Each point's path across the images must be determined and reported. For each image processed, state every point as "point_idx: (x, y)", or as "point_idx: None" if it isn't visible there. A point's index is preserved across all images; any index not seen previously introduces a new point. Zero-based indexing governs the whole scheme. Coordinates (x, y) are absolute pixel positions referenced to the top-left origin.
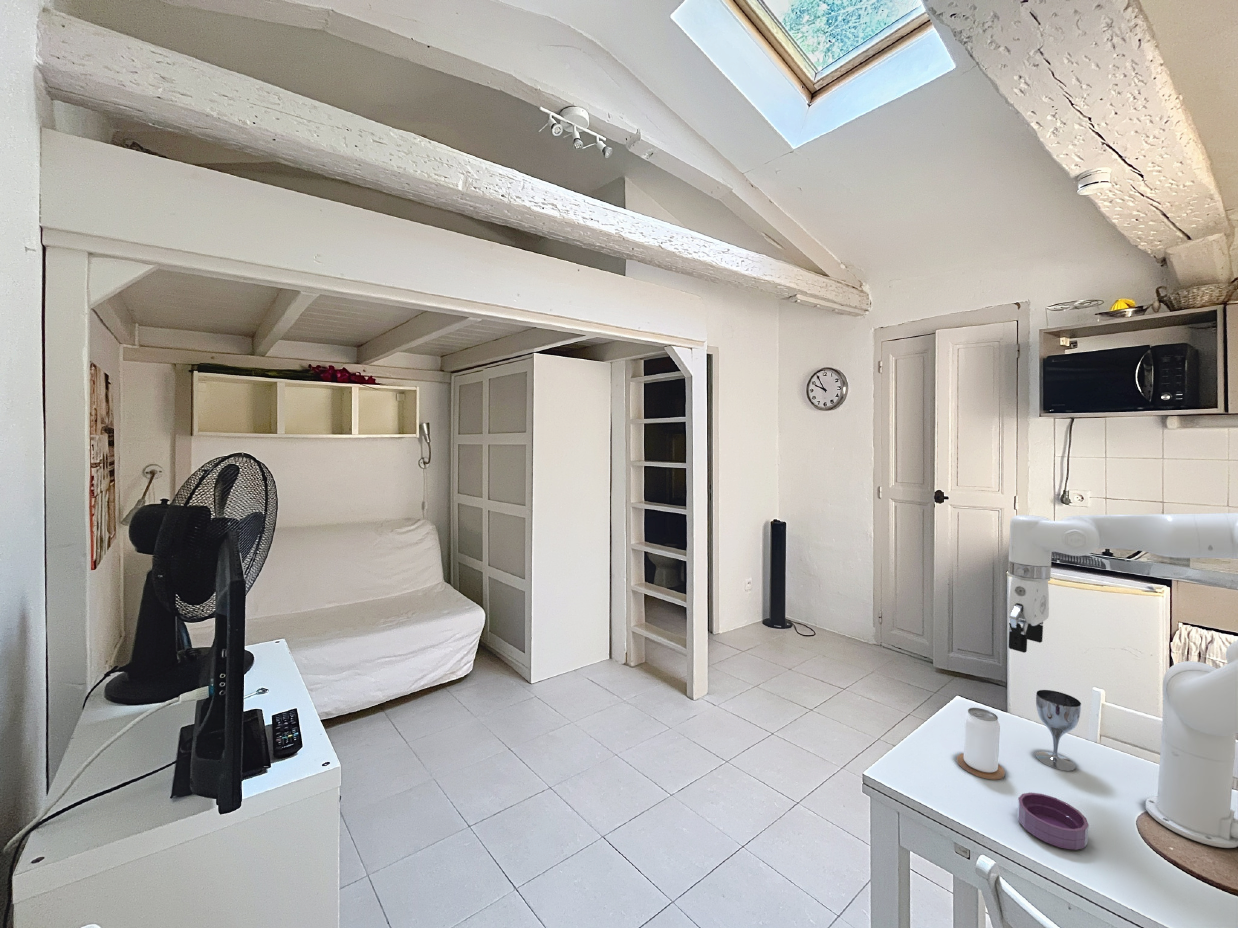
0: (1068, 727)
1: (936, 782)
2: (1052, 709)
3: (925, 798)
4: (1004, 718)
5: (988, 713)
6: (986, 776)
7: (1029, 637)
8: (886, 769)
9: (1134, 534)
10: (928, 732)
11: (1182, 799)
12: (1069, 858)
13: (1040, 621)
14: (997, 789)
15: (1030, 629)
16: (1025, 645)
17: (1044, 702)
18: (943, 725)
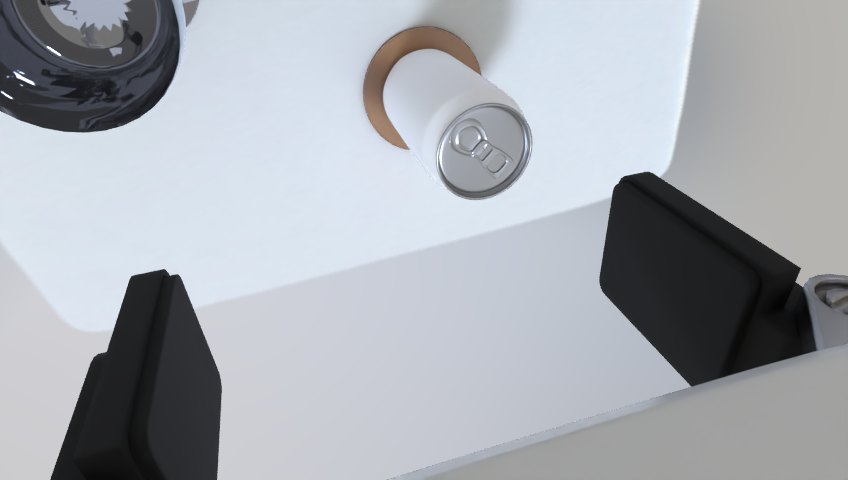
0: None
1: (588, 104)
2: (179, 2)
3: (667, 79)
4: (20, 224)
5: (448, 150)
6: (468, 51)
7: (210, 368)
8: None
9: None
10: (377, 253)
11: None
12: None
13: (726, 419)
14: (496, 4)
15: (201, 448)
16: (693, 204)
17: (182, 50)
18: (298, 263)
